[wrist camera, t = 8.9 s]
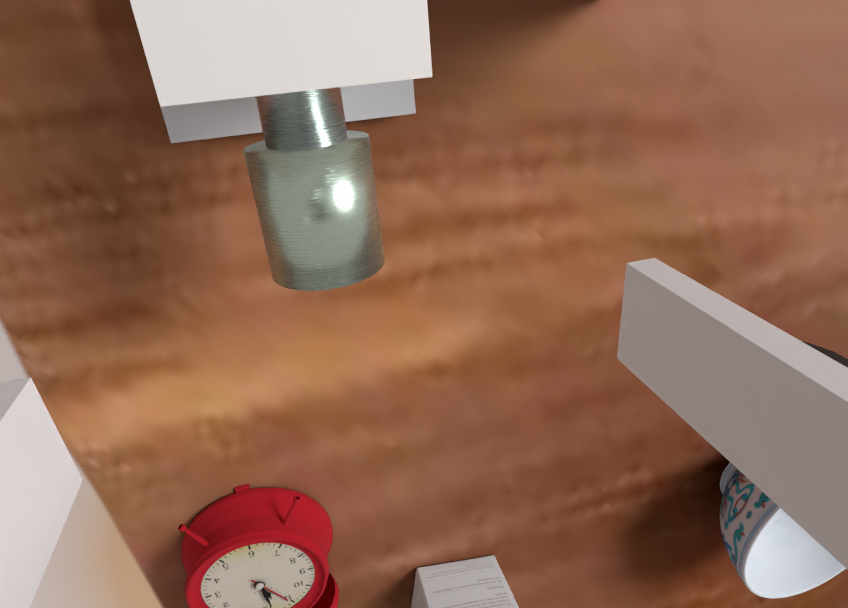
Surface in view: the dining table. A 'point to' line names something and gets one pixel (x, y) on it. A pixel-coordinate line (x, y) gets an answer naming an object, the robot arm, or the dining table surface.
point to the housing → (279, 57)
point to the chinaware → (769, 542)
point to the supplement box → (462, 585)
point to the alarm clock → (259, 552)
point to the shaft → (314, 192)
